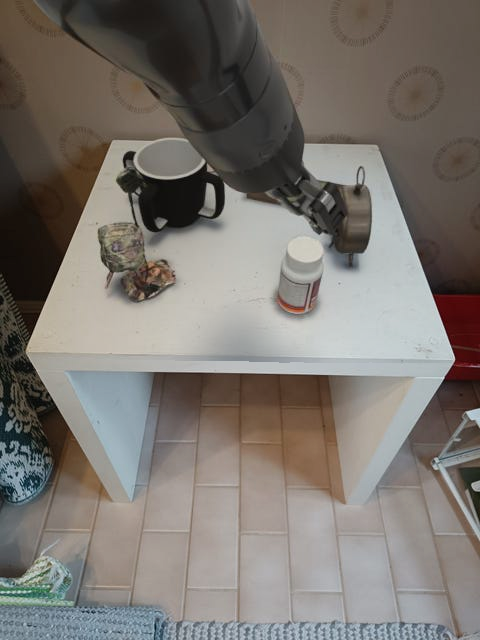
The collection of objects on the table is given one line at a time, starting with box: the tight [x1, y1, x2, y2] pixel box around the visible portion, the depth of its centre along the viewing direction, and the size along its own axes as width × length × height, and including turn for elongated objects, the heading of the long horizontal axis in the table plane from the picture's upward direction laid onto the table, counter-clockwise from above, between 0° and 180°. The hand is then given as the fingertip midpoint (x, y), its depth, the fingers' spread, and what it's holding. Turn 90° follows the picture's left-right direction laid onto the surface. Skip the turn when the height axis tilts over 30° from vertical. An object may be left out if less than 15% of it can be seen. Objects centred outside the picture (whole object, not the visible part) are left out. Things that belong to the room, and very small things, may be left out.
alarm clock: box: [328, 165, 373, 267], centre depth 69 cm, size 11×5×16 cm, turn 179°
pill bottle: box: [277, 236, 324, 315], centre depth 64 cm, size 6×6×11 cm
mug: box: [122, 137, 226, 234], centre depth 76 cm, size 16×16×12 cm
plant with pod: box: [94, 165, 177, 302], centre depth 63 cm, size 8×11×20 cm
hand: (291, 204), depth 45 cm, fingers open, 8 cm apart
